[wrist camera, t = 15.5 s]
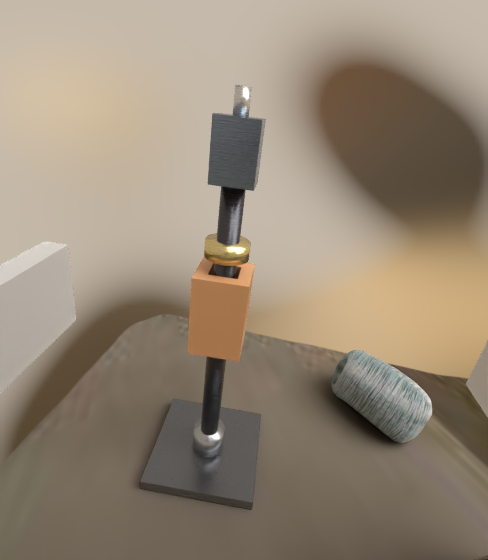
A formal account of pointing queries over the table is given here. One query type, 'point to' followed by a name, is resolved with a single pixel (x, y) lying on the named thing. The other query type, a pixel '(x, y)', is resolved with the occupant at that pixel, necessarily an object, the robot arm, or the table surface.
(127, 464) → the table surface
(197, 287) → the sleeve
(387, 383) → the spool
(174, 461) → the stand
